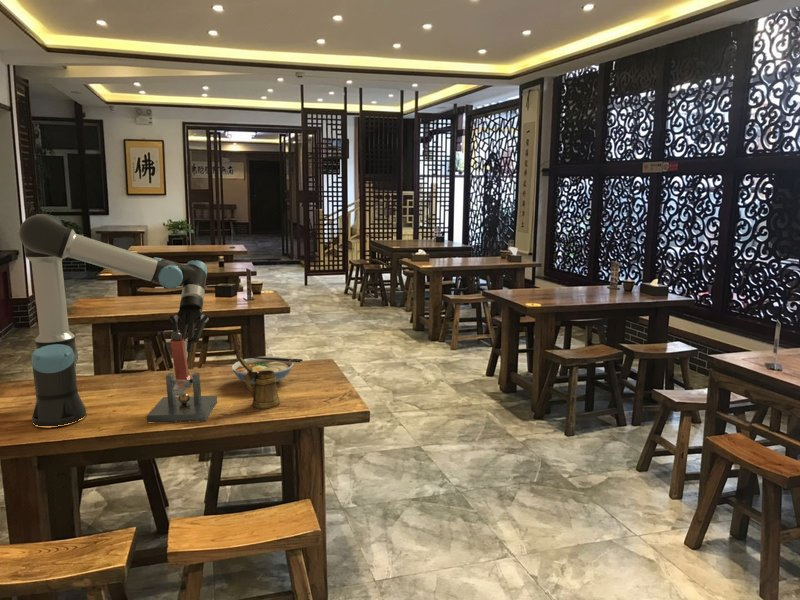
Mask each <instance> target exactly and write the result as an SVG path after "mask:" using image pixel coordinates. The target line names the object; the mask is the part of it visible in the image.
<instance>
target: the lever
mask: <svg viewBox="0 0 800 600" xmlns="http://www.w3.org/2000/svg"><path fill="white" fill-rule="evenodd" d="M170 337H171V339H170V342H169V343H170V348H171V353H172V354H171V355H172V361H173V362H172V363H173V367H174V373H175V375H174V381H173V383H174V385H175V386H174V388H173V393H174V396H175V397H179V396H180V395H183V394H184V393H186V390H187V389H188V388H189V389H190V388H191V387H192V386H193V380H192V375H193V374H190V372H189V365H188V356H187V357H186V350H185V343H184V338H182V334H181V331H178V332H174V333H172V334H171V335H170Z"/></svg>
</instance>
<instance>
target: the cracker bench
mask: <svg viewBox="0 0 800 600" xmlns="http://www.w3.org/2000/svg"><path fill="white" fill-rule="evenodd" d="M174 373H175V372H169V373H167V374H166V376H165V382H166V383H165V385H166V392H167V393H166V395H167V396H163V397H162V398H161V399H160V400H159V402H157V404H155V405H154V407H152V409H151V410H150V411H149V412H148V414H146V422H169V423H191V422H193V421H199V422H206V421H207V420H208V419H209V416H210V415H211V413H212V412H211V411H213V410H214V409H215V407H216V406H217V404H218V396H217V395H202V394H201V393H202V391H201V388H202V387H201V378H200V372H196V371H195V372H194V373H192V374H191V375H192V380H193V383H192V392H193V396H191V395H189V394H188V393H187V392H184V394H183V395H180V396H174V393H173V388H174V386H175V385H174V383H173V381H174V379H175V375H174ZM213 408H214V409H213ZM175 421H177V422H175ZM180 421H181V422H180ZM189 421H191V422H189ZM193 423H194V422H193Z"/></svg>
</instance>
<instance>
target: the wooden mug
mask: <svg viewBox="0 0 800 600" xmlns="http://www.w3.org/2000/svg"><path fill="white" fill-rule="evenodd" d="M236 358H237V360H238V361H239V362H240V363H241V364H242V366H243V367H244V368H245V369H246V370H247V371H248V372H247V374H246V376H245V382H244V383H245V386H246V387H247V389H248V391H250V393H251V395H252V405H253V407H254V408H256V409H264V410H265V409H266V408H267V409H271V408H275V407H277V406H279V405H281V401H280V397H279V394H278V388H277V382H276V376H275V375H274V371H271V370H265V371H260V372H258V373H257V371H253V370H252V369H251V368H250V366H249V365H248V364H247V363H246V362H245V361H244V359H245V358H244V359H243V357H241V356H239V355H236ZM253 378H255V379H254V382H255V385H253V384H251V383H250V381H251V380H252V379H253Z"/></svg>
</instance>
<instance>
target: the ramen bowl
mask: <svg viewBox="0 0 800 600" xmlns="http://www.w3.org/2000/svg"><path fill="white" fill-rule="evenodd" d="M242 358H244V361H245V362H246V363H247V364H248V365H249V366H250V368H251V369H252V370H253V371H257V373H258V372H260V371H265V370H271V371H274V375H275V376H276V383H277V382H279V381H282V380H284V379H285V378H286V377H287V376H288V374H289V373H290V372H291V370H292V368H293V366H294V363H301V362H303V359H302V358H288V357H284V356H283V357H282V356H271V355H270V356H269V355H267V356H254V357H253V356H242ZM231 370H232V372H233V374H235V377H236V378H238V379H239V380H241V381H242V382H244V383H245V376H246V374H247V372H248V371H247V370H246V369H245V368H244V367H243V366H242V364H241V363H240V362H239V360H238V361H236V362H235V363H233V365H231ZM254 379H255V378H253V379H252V380H251V381H250V383H251V385H252V386H255V382H254Z"/></svg>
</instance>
